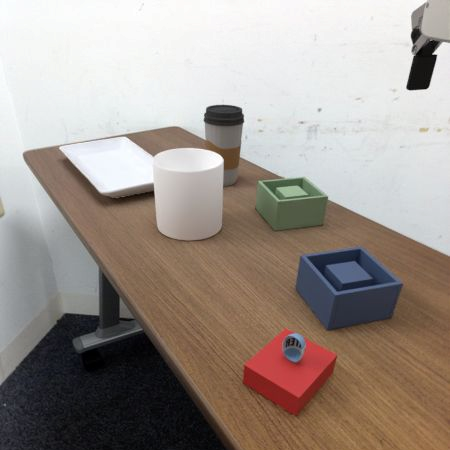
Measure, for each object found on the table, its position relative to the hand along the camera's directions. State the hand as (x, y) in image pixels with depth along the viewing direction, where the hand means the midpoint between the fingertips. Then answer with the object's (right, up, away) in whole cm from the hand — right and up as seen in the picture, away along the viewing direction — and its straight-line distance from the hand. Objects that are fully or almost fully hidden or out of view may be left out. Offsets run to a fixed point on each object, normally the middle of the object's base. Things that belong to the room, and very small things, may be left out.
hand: (442, 97), depth 53 cm
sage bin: (-15, -9, +28) cm, 33 cm away
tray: (-51, +3, +43) cm, 67 cm away
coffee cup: (-27, +1, +42) cm, 50 cm away
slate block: (-11, -25, +6) cm, 28 cm away
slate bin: (-11, -25, +7) cm, 28 cm away
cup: (-33, -12, +24) cm, 43 cm away
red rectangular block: (-20, -34, -5) cm, 40 cm away
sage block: (-15, -9, +28) cm, 33 cm away
